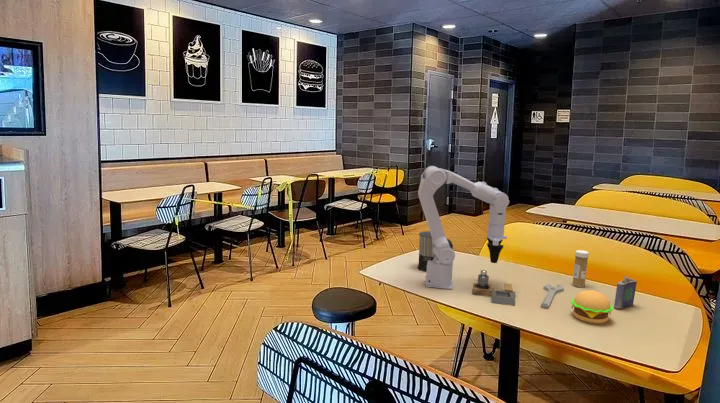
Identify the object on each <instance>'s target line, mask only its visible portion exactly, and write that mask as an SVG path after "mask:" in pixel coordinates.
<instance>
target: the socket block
mask: <svg viewBox="0 0 720 403" xmlns="http://www.w3.org/2000/svg"><path fill="white" fill-rule="evenodd" d="M516 297H517V295H516V291H514V290H513V292H509V291H504V289H503V290H502V289H501V290H500V289H491V296H490V303H491V304H502V305H507V306H515V304H516Z"/></svg>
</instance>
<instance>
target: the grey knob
mask: <svg viewBox="0 0 720 403" xmlns="http://www.w3.org/2000/svg"><path fill="white" fill-rule="evenodd" d="M489 279H490V278H489V275H488V271H487V270H485V269H480V274H478V276H477V283H478V289H487V290H488V284H489Z"/></svg>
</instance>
